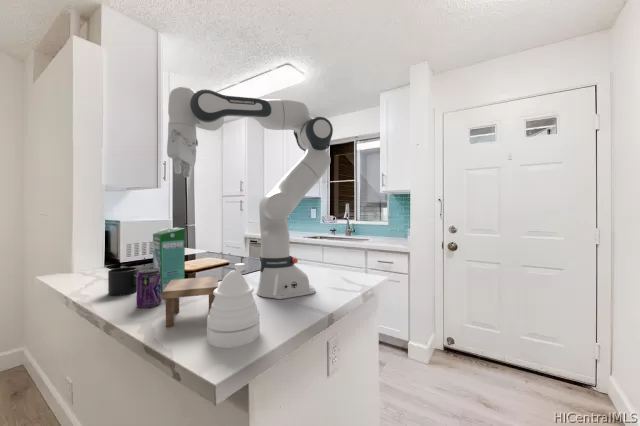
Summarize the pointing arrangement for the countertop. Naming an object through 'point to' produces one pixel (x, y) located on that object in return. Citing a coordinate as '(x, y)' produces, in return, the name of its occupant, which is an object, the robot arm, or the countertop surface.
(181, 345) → the countertop surface
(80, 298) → the countertop surface
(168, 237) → the milk carton
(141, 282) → the beverage can
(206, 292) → the walnut stool
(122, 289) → the mug
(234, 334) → the honey pot
